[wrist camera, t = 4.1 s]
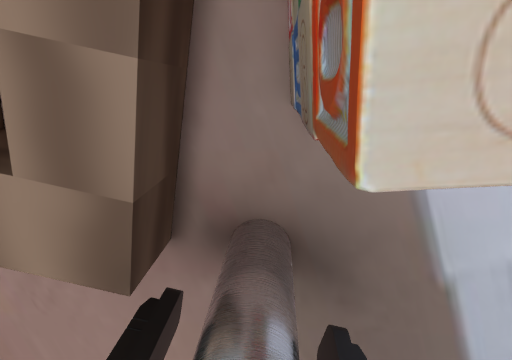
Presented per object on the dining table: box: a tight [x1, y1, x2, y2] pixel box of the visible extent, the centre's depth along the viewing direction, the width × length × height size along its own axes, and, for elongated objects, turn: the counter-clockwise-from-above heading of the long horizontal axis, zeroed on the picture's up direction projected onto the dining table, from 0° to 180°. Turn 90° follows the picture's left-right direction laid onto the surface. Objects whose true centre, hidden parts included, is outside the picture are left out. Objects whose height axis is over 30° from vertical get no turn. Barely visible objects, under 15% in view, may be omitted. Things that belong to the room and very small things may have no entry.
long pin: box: [193, 220, 299, 360], centre depth 10 cm, size 4×4×14 cm
